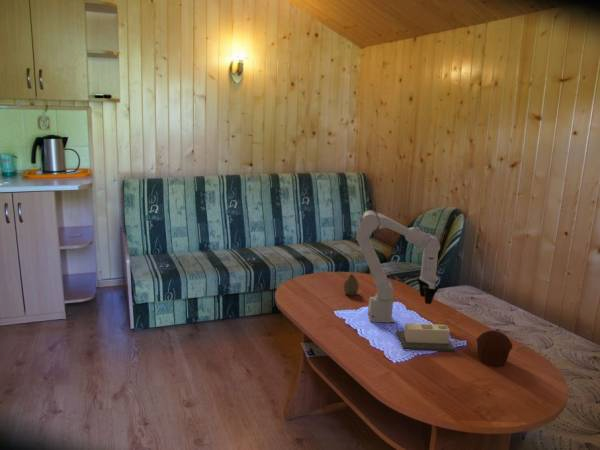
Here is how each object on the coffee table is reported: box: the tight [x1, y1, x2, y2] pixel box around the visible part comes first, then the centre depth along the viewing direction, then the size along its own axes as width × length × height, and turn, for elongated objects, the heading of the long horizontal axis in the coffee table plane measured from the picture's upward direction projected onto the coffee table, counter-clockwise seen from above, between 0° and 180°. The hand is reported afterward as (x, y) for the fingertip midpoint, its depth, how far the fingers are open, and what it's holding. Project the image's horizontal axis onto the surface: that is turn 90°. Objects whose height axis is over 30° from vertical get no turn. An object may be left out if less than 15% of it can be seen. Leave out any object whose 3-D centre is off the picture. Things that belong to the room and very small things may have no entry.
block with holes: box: [404, 322, 451, 344], centre depth 180 cm, size 15×5×5 cm, turn 90°
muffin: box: [476, 330, 513, 368], centre depth 168 cm, size 12×11×10 cm
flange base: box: [396, 330, 456, 353], centre depth 180 cm, size 18×13×4 cm
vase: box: [343, 274, 360, 296], centre depth 225 cm, size 7×7×9 cm
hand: (425, 300), depth 196 cm, fingers open, 7 cm apart
